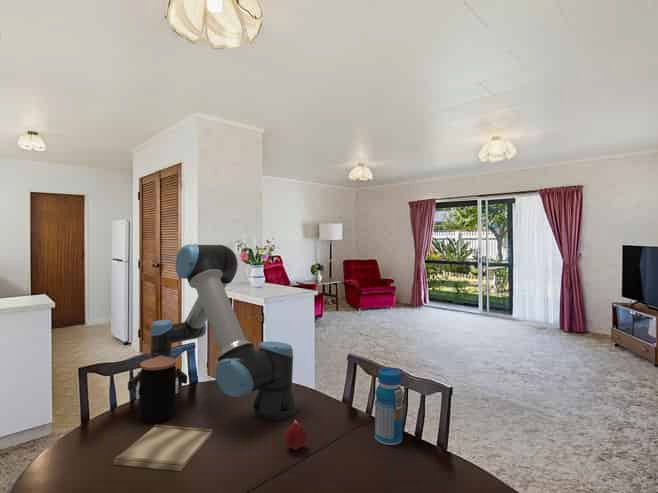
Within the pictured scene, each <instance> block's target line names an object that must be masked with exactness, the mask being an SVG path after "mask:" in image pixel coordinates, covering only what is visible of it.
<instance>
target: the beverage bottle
mask: <svg viewBox="0 0 658 493" xmlns="http://www.w3.org/2000/svg"><path fill="white" fill-rule="evenodd" d="M377 374H378V375H377V376H378V377H377V378H378V379H377V380H378V383H379V384H378V386H377V388H376V389H375V396H376V398H375V399H374V407H375V408H374V409H375V410H374V439H375V440H376V441H377V442H378V443H380V444H382V445H387V446H395V445H398V444H400V443H401V442H402V441H403V420H404V419H403V418H404V417H403V416H404V406H405V405H404V404H405V403H404V401H403V399H404V392H403V390H402V388H401V383H402V372H401V371H400V370H399V369H396V368H391V367H384V368H380V369H379V370H378V373H377Z"/></svg>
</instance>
